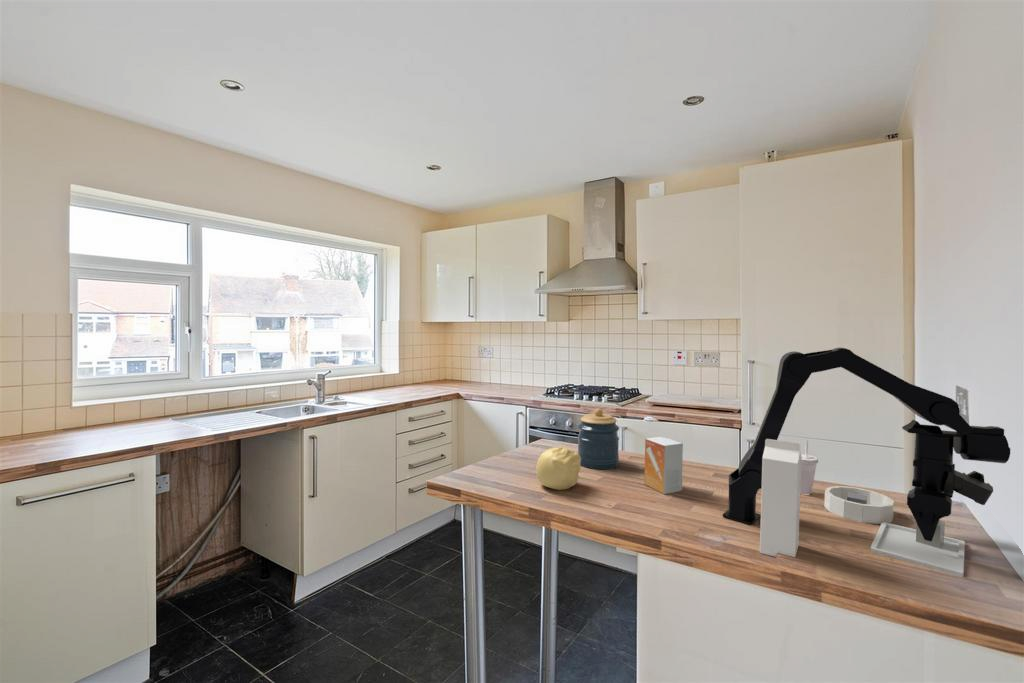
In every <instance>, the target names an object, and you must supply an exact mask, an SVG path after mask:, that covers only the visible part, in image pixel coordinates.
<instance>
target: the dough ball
mask: <svg viewBox="0 0 1024 683" xmlns="http://www.w3.org/2000/svg"><path fill="white" fill-rule="evenodd" d="M536 462H537V463H536V465H535V466H536V467H535V469H536V470H535V472H536V476H537V477H536V478H537V479H538V481H539V483H540V484H541V485H542V486H544V487H547V488H549V489H552V490H558V491H565V490H568V489H570V488H571V487H574V486H575V485H576V483H578V480H579V477H580V476H579V474H580V471H581V466H582V465H580V462H581V457H580V455H579V454H578V452H576V451H575V450H573V449H569V448H567V447H564V446H562V445H560V446H559V447H553V448H549V449H547V450H544V452H542V453H541V455H540V456H539V457H538V459H537V461H536Z"/></svg>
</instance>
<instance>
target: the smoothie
mask: <svg viewBox="0 0 1024 683" xmlns="http://www.w3.org/2000/svg"><path fill="white" fill-rule="evenodd" d="M808 450H809V440H805V449H804V451H805V452H804V453H801V482H800V494H811V495H812V491H813V486H814V480H815V474H816V470H817V464H818V463H819V458H818V457H817V456H814V455H810V454H808V453H809V452H808Z"/></svg>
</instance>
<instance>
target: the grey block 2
mask: <svg viewBox="0 0 1024 683" xmlns="http://www.w3.org/2000/svg"><path fill="white" fill-rule="evenodd" d="M945 524H946V522H945V521H944V520H940V519H939V522H938V525H937V528H936V531H935V534H934V537H933V540H932V541H926V540H924V538H923V535H922V533H921V531H920V529H919V527H918V525H917V524H916V526H915V527H916V528H915V529H916V542H919V543H922V544H926V545H929V546H933V547H936V548H940V547H941V546H942V545H943V544H944V536H945V529H946V527H945Z"/></svg>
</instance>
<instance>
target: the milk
mask: <svg viewBox="0 0 1024 683" xmlns="http://www.w3.org/2000/svg"><path fill="white" fill-rule="evenodd" d="M801 454H802V453H801V444H800V443H799V442H792V441H786V440H778V439H777V440H772V439H766V440H765V449H764V453H763V458H762V488H761V492H760V493H761V494H760V495H761V496H760V497H761V499H760V500H761V501H760V502H761V503H760V504H761V505H760V515H761V517H760V529H759V530H760V536H759V537H760V539H759V553H760V554H763V555H766V556H770V557H774V558H777V557H778V554H781V555H784V556H788V557H792V558H796V556H797V552H798V548H799V541H800V513H801V512H800V509H801V495H800V482H801Z"/></svg>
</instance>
